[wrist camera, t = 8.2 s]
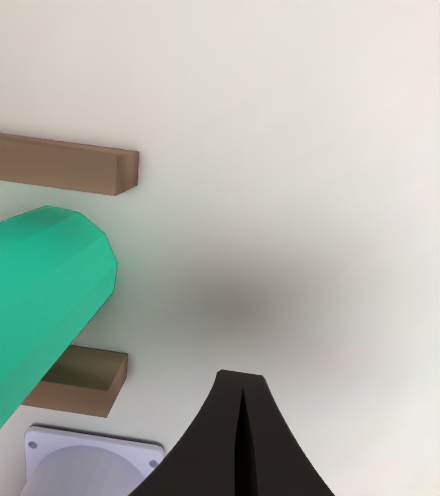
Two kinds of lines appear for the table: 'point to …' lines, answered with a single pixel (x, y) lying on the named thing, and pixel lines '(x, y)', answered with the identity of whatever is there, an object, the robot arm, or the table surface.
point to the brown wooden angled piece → (87, 180)
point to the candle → (46, 293)
